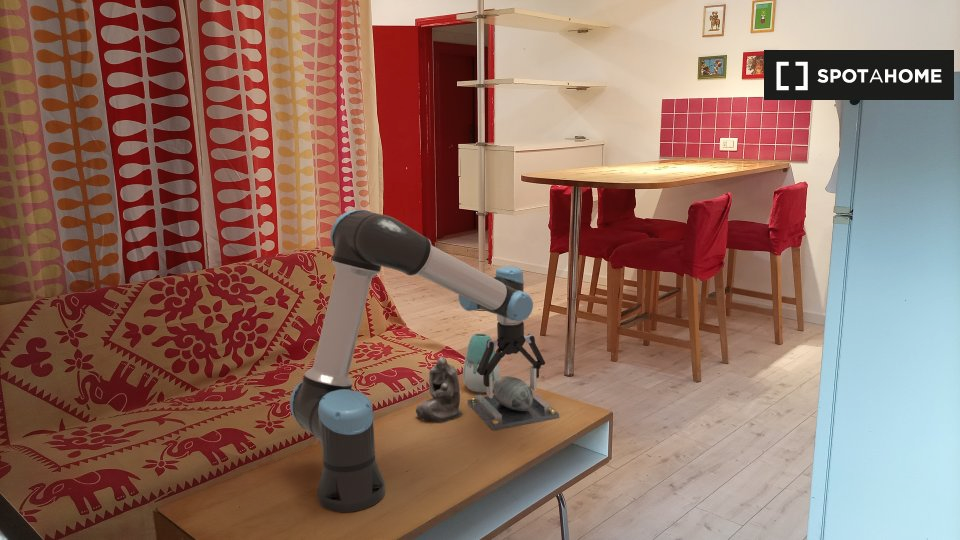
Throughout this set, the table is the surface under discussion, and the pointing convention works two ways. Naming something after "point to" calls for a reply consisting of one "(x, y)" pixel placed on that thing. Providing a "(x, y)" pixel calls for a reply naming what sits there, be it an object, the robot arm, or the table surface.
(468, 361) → the vase
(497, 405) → the carrier
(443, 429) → the table surface
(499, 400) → the grey rock
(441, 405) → the figurine
